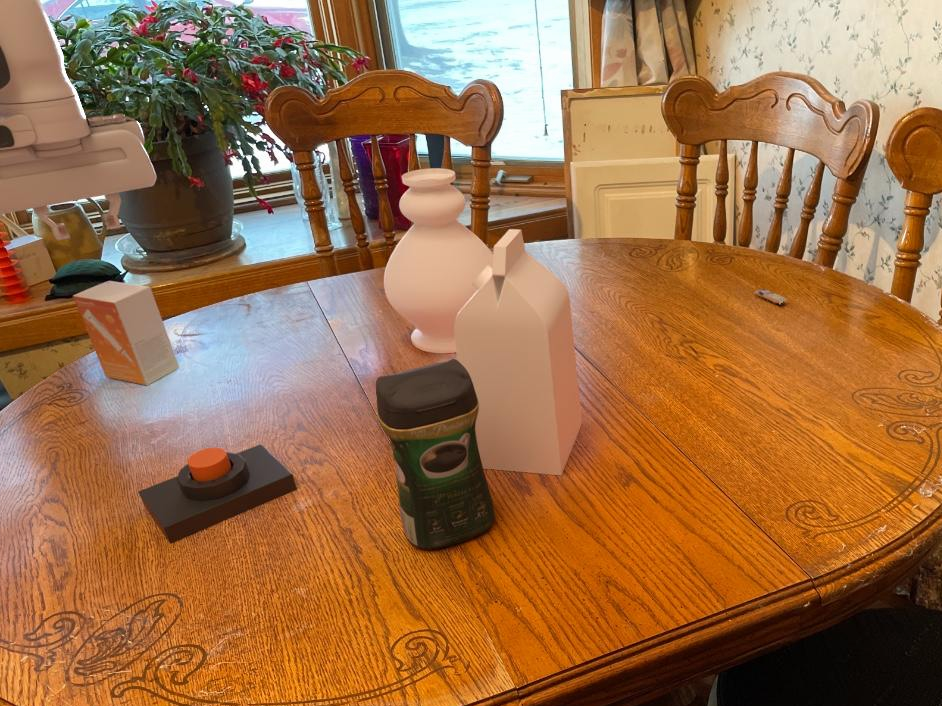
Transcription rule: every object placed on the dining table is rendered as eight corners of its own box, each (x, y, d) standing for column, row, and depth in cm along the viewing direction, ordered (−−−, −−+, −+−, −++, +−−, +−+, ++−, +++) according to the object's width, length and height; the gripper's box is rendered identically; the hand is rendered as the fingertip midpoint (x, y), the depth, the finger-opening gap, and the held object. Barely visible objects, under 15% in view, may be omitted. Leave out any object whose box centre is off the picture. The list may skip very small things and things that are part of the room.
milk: (561, 475, 91) (547, 258, 76) (467, 467, 93) (436, 254, 78) (582, 422, 101) (572, 222, 86) (496, 416, 102) (473, 219, 88)
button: (200, 487, 84) (194, 471, 83) (188, 472, 87) (182, 456, 86) (237, 472, 87) (231, 457, 85) (224, 458, 89) (218, 443, 88)
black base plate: (170, 544, 82) (157, 514, 80) (144, 506, 88) (132, 477, 85) (297, 489, 90) (288, 460, 88) (266, 458, 95) (257, 430, 93)
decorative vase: (528, 324, 127) (515, 166, 113) (464, 370, 114) (440, 197, 100) (440, 307, 134) (418, 156, 120) (370, 348, 121) (336, 184, 107)
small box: (105, 378, 115) (70, 295, 108) (140, 360, 120) (109, 279, 113) (146, 387, 112) (113, 302, 105) (180, 367, 117) (151, 285, 110)
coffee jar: (479, 493, 88) (458, 344, 78) (504, 532, 82) (485, 376, 72) (394, 519, 85) (361, 366, 74) (414, 561, 79) (381, 401, 68)
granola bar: (789, 304, 131) (790, 298, 130) (779, 307, 130) (780, 301, 129) (762, 292, 136) (762, 286, 135) (752, 295, 135) (752, 289, 134)
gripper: (128, 108, 105) (162, 211, 112) (-55, 132, 93) (-3, 245, 101) (142, 114, 101) (177, 220, 108) (-47, 140, 89) (6, 257, 97)
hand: (89, 233), depth 104 cm, fingers open, 5 cm apart
